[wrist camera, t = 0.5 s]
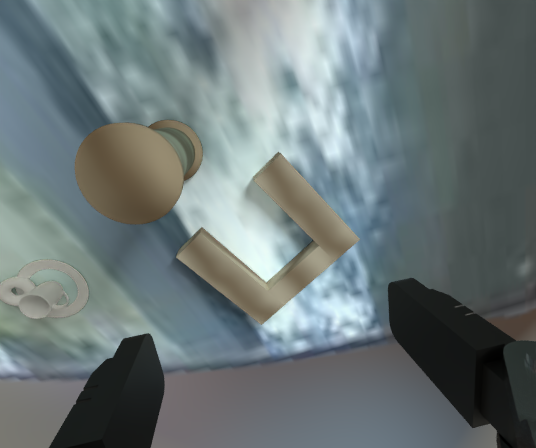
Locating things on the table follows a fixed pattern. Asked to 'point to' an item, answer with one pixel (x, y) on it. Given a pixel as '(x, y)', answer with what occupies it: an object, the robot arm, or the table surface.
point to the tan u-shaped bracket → (297, 270)
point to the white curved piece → (43, 291)
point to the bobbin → (137, 168)
